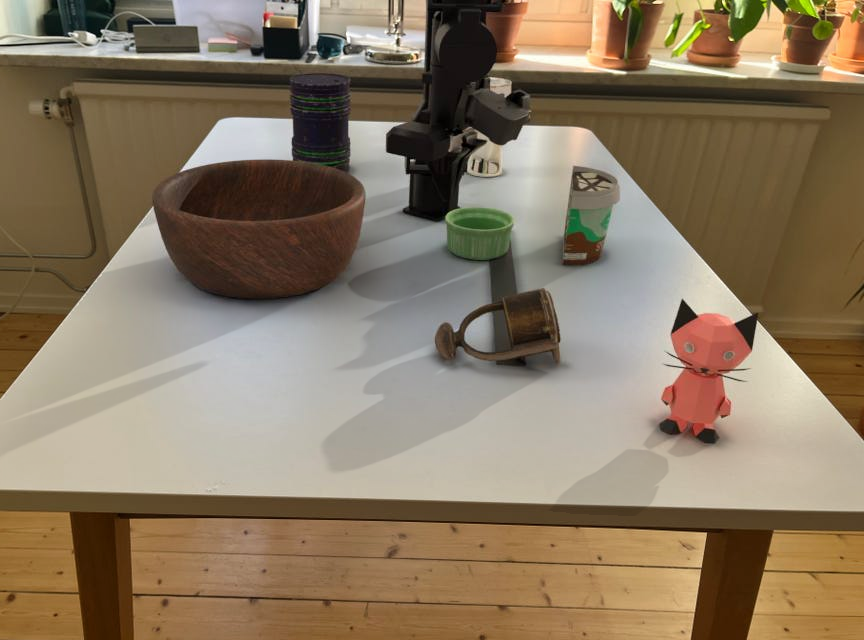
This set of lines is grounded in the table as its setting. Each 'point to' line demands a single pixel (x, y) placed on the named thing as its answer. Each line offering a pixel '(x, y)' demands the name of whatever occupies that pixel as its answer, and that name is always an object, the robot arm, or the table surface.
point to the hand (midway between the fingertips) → (447, 200)
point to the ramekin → (478, 232)
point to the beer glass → (489, 142)
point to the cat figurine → (704, 368)
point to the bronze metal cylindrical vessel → (510, 328)
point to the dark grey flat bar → (501, 287)
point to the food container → (588, 214)
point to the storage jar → (321, 119)
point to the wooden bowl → (260, 225)
